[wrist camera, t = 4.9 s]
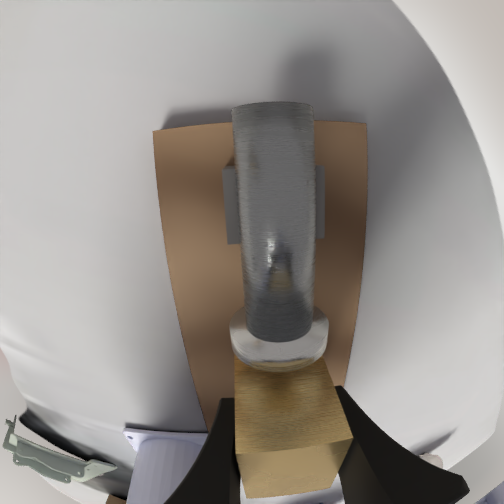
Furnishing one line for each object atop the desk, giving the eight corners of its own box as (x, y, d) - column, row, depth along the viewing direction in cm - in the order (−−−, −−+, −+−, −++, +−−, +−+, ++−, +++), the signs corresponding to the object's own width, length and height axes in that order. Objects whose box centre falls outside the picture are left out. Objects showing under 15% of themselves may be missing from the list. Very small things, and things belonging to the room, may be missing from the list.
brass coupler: (234, 345, 12) (235, 453, 7) (315, 337, 12) (353, 437, 7) (242, 410, 14) (246, 498, 8) (308, 403, 14) (329, 487, 8)
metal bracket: (0, 461, 16) (2, 440, 12) (4, 428, 20) (11, 394, 17) (89, 493, 23) (127, 482, 20) (88, 461, 28) (124, 439, 25)
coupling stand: (326, 432, 19) (342, 489, 13) (215, 443, 19) (214, 503, 13) (357, 125, 11) (433, 114, 6) (159, 132, 11) (100, 120, 6)
